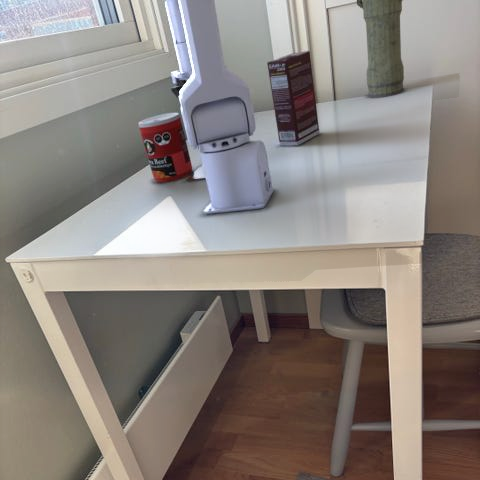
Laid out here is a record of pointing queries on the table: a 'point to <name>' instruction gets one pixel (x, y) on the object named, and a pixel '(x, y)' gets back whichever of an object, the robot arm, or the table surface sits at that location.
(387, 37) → the thermos
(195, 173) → the white flat piece
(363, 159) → the table surface
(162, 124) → the canned food
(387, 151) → the table surface
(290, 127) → the supplement box
